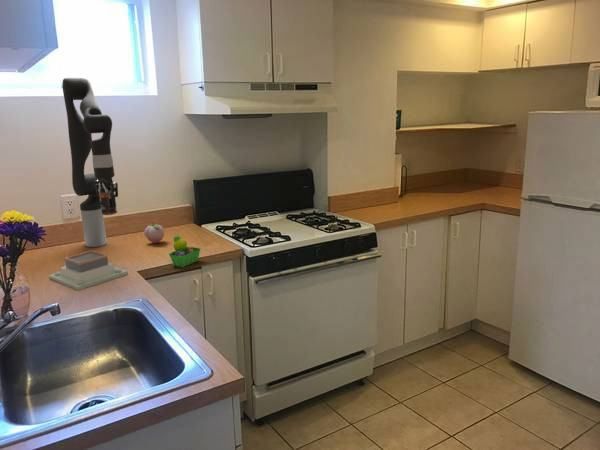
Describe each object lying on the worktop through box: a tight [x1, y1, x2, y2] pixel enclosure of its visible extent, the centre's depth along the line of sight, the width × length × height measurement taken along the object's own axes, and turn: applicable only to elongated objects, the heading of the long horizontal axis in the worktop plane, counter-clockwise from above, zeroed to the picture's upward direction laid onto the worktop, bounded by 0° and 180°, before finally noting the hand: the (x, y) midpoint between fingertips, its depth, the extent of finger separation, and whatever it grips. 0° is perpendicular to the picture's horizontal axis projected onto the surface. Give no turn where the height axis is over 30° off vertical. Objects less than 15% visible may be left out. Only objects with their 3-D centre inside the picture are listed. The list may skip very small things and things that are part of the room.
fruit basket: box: [168, 235, 201, 268], centre depth 198 cm, size 11×9×11 cm
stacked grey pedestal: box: [48, 249, 129, 291], centre depth 187 cm, size 22×20×8 cm
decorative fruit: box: [144, 222, 166, 244], centre depth 228 cm, size 9×8×10 cm
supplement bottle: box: [99, 187, 118, 216], centre depth 200 cm, size 6×6×11 cm
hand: (108, 206), depth 201 cm, fingers closed on supplement bottle, 6 cm apart
